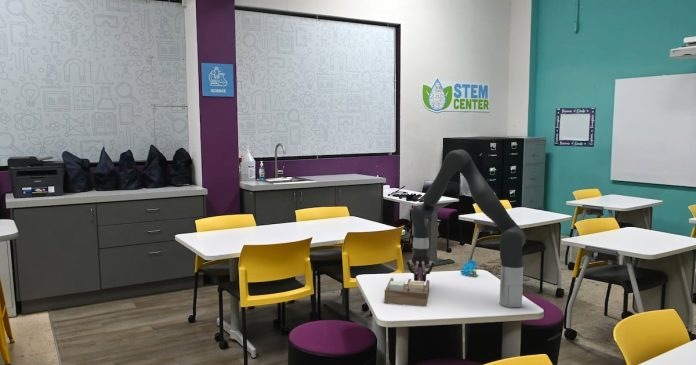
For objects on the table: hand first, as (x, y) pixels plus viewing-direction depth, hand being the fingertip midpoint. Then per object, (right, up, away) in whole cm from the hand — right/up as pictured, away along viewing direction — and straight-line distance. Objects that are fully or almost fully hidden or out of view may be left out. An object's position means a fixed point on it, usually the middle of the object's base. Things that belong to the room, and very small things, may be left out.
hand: (420, 281), depth 260 cm
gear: (+29, -1, +24) cm, 38 cm away
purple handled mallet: (-2, -3, -12) cm, 12 cm away
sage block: (-13, -1, -22) cm, 26 cm away
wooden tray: (-8, -4, -16) cm, 19 cm away
